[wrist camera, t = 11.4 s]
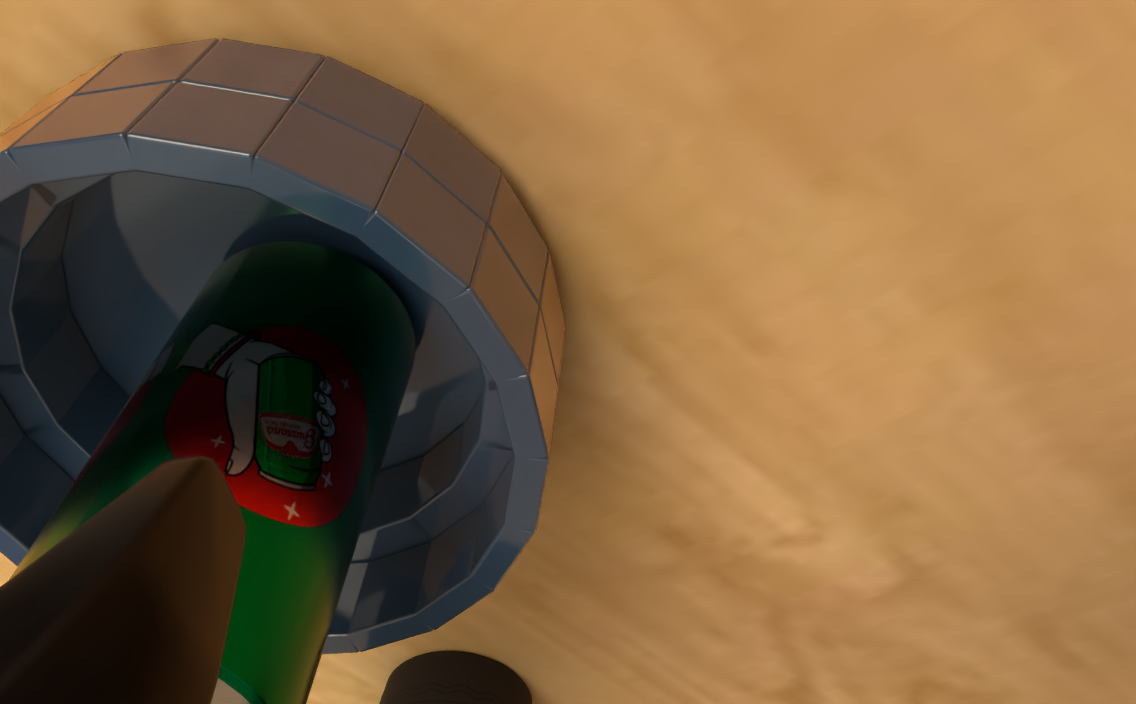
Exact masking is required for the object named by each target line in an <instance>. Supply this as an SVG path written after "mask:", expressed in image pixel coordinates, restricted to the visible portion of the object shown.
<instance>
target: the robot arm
mask: <svg viewBox="0 0 1136 704" xmlns="http://www.w3.org/2000/svg"><path fill="white" fill-rule="evenodd" d="M245 541H246V525H245V520H244V517H243V514H242V512H241V510H240V508H239V506H238V504H237V502H236V500H235V498H234V496H233V494H232V491H231V489H230V487H229V485H228V483H227V481H226V479H225V477H224V475H223V473H222V471H221V469H220V467H219V466H218V464H217V463H216V462H215V461H214V460H213V459H212V458H210V457H207V456H193V457H181V458H173V459H169V460H166V461H164V462H163V463H161V464H160V465H159V466H157V467H156V468H155V469H154V470H152V471H151V472H150V473H148V474H147V475H146V476H144V477H143V478H142V479H141V480H139V481H138V482H137V483H135V484H134V485H133V486H131V487H130V488H129V489H127V490H126V491H125V492H124V493H122V494H121V495H120V496H118V497H117V498H116V499H114V500H113V501H112V502H111V503H109V504H108V505H107V506H105V507H104V508H103V509H101V510H100V511H99V512H98V513H96V514H95V515H94V516H92V517H91V518H90V519H88V520H87V521H86V522H84V523H83V524H82V525H81V526H79V527H78V528H77V529H75V530H74V531H73V532H71V533H70V534H69V535H68V536H66V537H65V538H64V539H62V540H61V541H60V542H58V543H57V544H56V545H55V546H53V547H52V548H51V549H49V550H48V551H47V552H45V553H44V554H43V555H41V556H40V557H39V558H38V559H36V560H35V561H34V562H32V563H31V564H30V565H28V566H27V567H26V568H25V569H23V570H22V571H21V572H19V573H18V574H17V575H15V576H14V577H13V578H11V579H10V580H9V581H8V582H6V583H5V584H4V585H2V586H1V587H0V704H211V701H212V698H213V694H214V691H215V687H216V684H217V680H218V675H219V671H220V667H221V663H222V658H223V653H224V648H225V643H226V638H227V633H228V628H229V623H230V618H231V613H232V607H233V602H234V597H235V592H236V587H237V582H238V577H239V572H240V567H241V562H242V557H243V552H244V547H245Z"/></svg>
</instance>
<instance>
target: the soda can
mask: <svg viewBox="0 0 1136 704" xmlns="http://www.w3.org/2000/svg"><path fill="white" fill-rule="evenodd" d="M415 352H416V348H415V335H414V331H413V327H412V323H411V321H410V318H409V316H408V314H407V311H406V309H405V307H404V306H403V304H402V303H401V301H400V300H399V298H398V297H397V295H396V294H395V293H394V292H393V290H392V289H391V288H390V287H389V286H388V285H387V284H386V282H385V281H383V280H382V279H381V278H380V277H379V276H378V275H377V274H375V273H374V272H373V271H372V270H370V269H369V268H367V267H366V266H364V265H363V264H361V263H360V262H358V261H357V260H355V259H353V258H351V257H349V256H347V255H345V254H343V253H341V252H338V251H335V250H332V249H329V248H327V247H324V246H319V245H315V244H310V243H305V242H292V241H281V242H268V243H264V244H259V245H255V246H252V247H249V248H247V249H244V250H242V251H239V252H237V253H236V254H234V255H232V256H231V257H229V258H228V259H226V260H225V261H224V262H223V263H222V264H221V265H220V266H218V267H217V268H216V269H215V270H214V272H213V273H212V275H211V276H210V278H209V279H208V281H207V282H206V284H205V285H204V287H203V288H202V290H201V291H200V293H199V294H198V296H197V297H196V299H195V300H194V302H193V303H192V305H191V306H190V308H189V309H188V311H187V312H186V314H185V315H184V317H183V318H182V320H181V321H180V323H179V324H178V326H177V327H176V329H175V330H174V332H173V333H172V335H171V336H170V338H169V339H168V341H167V342H166V344H165V345H164V347H163V348H162V350H161V351H160V353H159V354H158V356H157V357H156V359H155V361H154V362H153V364H152V365H151V367H150V368H149V370H148V371H147V373H146V374H145V376H144V377H143V379H142V380H141V382H140V383H139V385H138V386H137V388H136V389H135V391H134V392H133V394H132V395H131V397H130V398H129V400H128V401H127V403H126V404H125V406H124V407H123V409H122V410H121V412H120V413H119V415H118V416H117V418H116V419H115V421H114V422H113V424H112V425H111V427H110V428H109V430H108V431H107V433H106V434H105V436H104V438H103V439H102V441H101V442H100V444H99V445H98V447H97V448H96V450H95V451H94V453H93V454H92V456H91V457H90V459H89V460H88V462H87V463H86V465H85V466H84V468H83V469H82V471H81V472H80V474H79V475H78V477H77V478H76V480H75V481H74V483H73V484H72V486H71V487H70V489H69V490H68V492H67V493H66V495H65V496H64V498H63V499H62V501H61V502H60V504H59V505H58V507H57V508H56V510H55V511H54V513H53V515H52V516H51V518H50V519H49V521H48V522H47V524H46V525H45V527H44V528H43V530H42V531H41V533H40V534H39V536H38V537H37V539H36V540H35V542H34V543H33V545H32V546H31V548H30V549H29V551H28V552H27V554H26V555H25V557H24V558H23V560H22V561H21V563H20V564H19V566H18V567H17V569H16V570H15V572H14V573H13V575H12V576H11V578H13V577H14V576H15V575H17V574H18V573H19V572H21V571H22V570H23V569H25V568H26V567H27V566H28V565H30V564H31V563H32V562H34V561H35V560H36V559H38V558H39V557H40V556H41V555H43V554H44V553H45V552H47V551H48V550H49V549H51V548H52V547H53V546H55V545H56V544H57V543H58V542H60V541H61V540H62V539H64V538H65V537H66V536H68V535H69V534H70V533H71V532H73V531H74V530H75V529H77V528H78V527H79V526H81V525H82V524H83V523H84V522H86V521H87V520H88V519H90V518H91V517H92V516H94V515H95V514H96V513H98V512H99V511H100V510H101V509H103V508H104V507H105V506H107V505H108V504H109V503H111V502H112V501H113V500H114V499H116V498H117V497H118V496H120V495H121V494H122V493H124V492H125V491H126V490H127V489H129V488H130V487H131V486H133V485H134V484H135V483H137V482H138V481H139V480H141V479H142V478H143V477H144V476H146V475H147V474H148V473H150V472H151V471H152V470H154V469H155V468H156V467H157V466H159V465H160V464H161V463H163V462H164V461H166V460H169V459H173V458H181V457H193V456H207V457H210V458H212V459H213V460H214V461H215V462H216V463H217V464H218V466H219V467H220V469H221V471H222V473H223V475H224V477H225V479H226V481H227V483H228V485H229V487H230V489H231V491H232V494H233V496H234V498H235V500H236V502H237V504H238V506H239V508H240V510H241V512H242V514H243V517H244V520H245V525H246V541H245V547H244V552H243V557H242V562H241V567H240V572H239V577H238V582H237V587H236V592H235V597H234V602H233V607H232V613H231V618H230V623H229V628H228V633H227V638H226V643H225V648H224V653H223V658H222V663H221V667H220V671H219V675H218V680H217V684H216V687H215V691H214V694H213V698H212V701H211V704H306V702H307V699H308V696H309V692H310V689H311V686H312V683H313V680H314V677H315V674H316V670H317V667H318V664H319V661H320V658H321V655H322V652H323V648H324V645H325V642H326V639H327V636H328V633H329V630H330V626H331V623H332V620H333V617H334V614H335V611H336V608H337V604H338V601H339V598H340V595H341V592H342V589H343V585H344V582H345V579H346V576H347V573H348V570H349V567H350V563H351V560H352V557H353V554H354V551H355V548H356V545H357V541H358V538H359V535H360V532H361V529H362V526H363V523H364V519H365V516H366V513H367V510H368V507H369V504H370V501H371V497H372V494H373V491H374V488H375V485H376V482H377V479H378V475H379V472H380V469H381V466H382V463H383V460H384V457H385V453H386V450H387V447H388V444H389V441H390V438H391V435H392V431H393V428H394V425H395V422H396V419H397V416H398V412H399V409H400V406H401V403H402V400H403V397H404V394H405V390H406V387H407V384H408V381H409V378H410V375H411V372H412V368H413V365H414V360H415ZM11 578H10V579H11ZM10 579H9V580H10Z"/></svg>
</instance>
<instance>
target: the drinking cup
mask: <svg viewBox="0 0 1136 704" xmlns="http://www.w3.org/2000/svg"><path fill="white" fill-rule="evenodd" d="M380 704H532V698H531V694H530V692H529V690H528V688H527V686H526V685H525V683H524V682H523V681H522V680H521V678H519V677H518V676H517V675H516V674H515V673H514V672H513V671H511V670H510V669H508V668H507V667H505V666H503V665H501V664H499V663H497V662H495V661H493V660H490V659H488V658H485V657H481V656H478V655H474V654H469V653H462V652H435V653H428V654H424V655H420V656H417V657H414V658H412V659H409V660H408V661H406V662H404V663H403V664H401V665H400V666H399V667H397V668H396V669H395V670H394V672H393V673H392V674H391V676H390V677H389V679H388V682H387V684H386V687H385V690H384V693H383V696H382V698H381V701H380Z"/></svg>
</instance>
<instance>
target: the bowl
mask: <svg viewBox="0 0 1136 704" xmlns="http://www.w3.org/2000/svg"><path fill="white" fill-rule="evenodd" d="M500 172H501V171H500V169H499V168H498V167H497V166H496V165H494V164H493V163H492V162H491V161H490V160H489V159H488V158H487V157H485V156H484V155H483V154H482V153H481V152H480V151H479V150H478V149H477V148H475V147H474V146H473V145H472V144H471V143H470V142H469V141H468V140H466V139H465V138H464V137H463V136H462V135H461V134H460V133H459V132H457V131H456V130H455V129H454V128H453V127H452V126H451V125H450V124H448V123H447V122H446V121H445V120H444V119H443V118H442V117H441V116H440V115H438V114H437V113H436V112H435V111H434V110H433V109H432V108H431V107H429V106H428V105H427V104H423V102H422V101H420V100H418V99H416V98H414V97H412V96H410V95H408V94H406V93H404V92H402V91H400V90H397V89H395V88H393V87H391V86H389V85H387V84H385V83H383V82H381V81H379V80H377V79H375V78H373V77H370V76H368V75H366V74H364V73H362V72H360V71H358V70H356V69H354V68H352V67H350V66H348V65H346V64H344V63H341V62H339V61H337V60H335V59H333V58H331V57H326V58H325V57H324V56H323V55H319V54H313V53H307V52H301V51H295V50H289V49H283V48H277V47H271V46H265V45H259V44H253V43H247V42H241V41H235V40H229V39H220V40H219V39H216V38H214V39H207V40H201V41H194V42H188V43H181V44H175V45H168V46H162V47H155V48H149V49H142V50H136V51H130V52H125V53H120V54H118V55H116V56H114V57H113V58H111V59H109V60H108V61H106V62H104V63H102V64H101V65H99V66H97V67H96V68H94V69H92V70H91V71H89V72H87V73H85V74H84V75H82V76H80V77H79V78H77V79H75V80H73V81H72V82H70V83H68V84H67V85H65V86H63V87H62V88H60V89H58V90H56V91H55V92H53V93H51V94H50V95H48V96H47V97H45V98H44V99H43V100H42V101H41V102H39V103H38V104H37V105H36V106H34V107H33V108H32V109H31V110H29V111H28V112H27V113H26V114H24V115H23V116H22V117H21V118H20V119H18V120H17V121H16V122H15V123H13V124H12V125H11V126H10V127H8V128H7V129H6V130H5V131H3V132H2V133H1V134H0V552H1V553H2V554H3V555H5V556H6V557H7V558H8V559H9V560H10V561H12V562H13V563H14V564H15V565H16V566H19V564H20V563H21V561H22V560H23V558H24V557H25V555H26V554H27V552H28V551H29V549H30V548H31V546H32V545H33V543H34V542H35V540H36V539H37V537H38V536H39V534H40V533H41V531H42V530H43V528H44V527H45V525H46V524H47V522H48V521H49V519H50V518H51V516H52V515H53V513H54V511H55V510H56V508H57V507H58V505H59V504H60V502H61V501H62V499H63V498H64V496H65V495H66V493H67V492H68V490H69V489H70V487H71V486H72V484H73V483H74V481H75V480H76V478H77V477H78V475H79V474H80V472H81V471H82V469H83V468H84V466H85V465H86V463H87V462H88V460H89V459H90V457H91V456H92V454H93V453H94V451H95V450H96V448H97V447H98V445H99V444H100V442H101V441H102V439H103V438H104V436H105V434H106V433H107V431H108V430H109V428H110V427H111V425H112V424H113V422H114V421H115V419H116V418H117V416H118V415H119V413H120V412H121V410H122V409H123V407H124V406H125V404H126V403H127V401H128V400H129V398H130V397H131V395H132V394H133V392H134V391H135V389H136V388H137V386H138V385H139V383H140V382H141V380H142V379H143V377H144V376H145V374H146V373H147V371H148V370H149V368H150V367H151V365H152V364H153V362H154V361H155V359H156V357H157V356H158V354H159V353H160V351H161V350H162V348H163V347H164V345H165V344H166V342H167V341H168V339H169V338H170V336H171V335H172V333H173V332H174V330H175V329H176V327H177V326H178V324H179V323H180V321H181V320H182V318H183V317H184V315H185V314H186V312H187V311H188V309H189V308H190V306H191V305H192V303H193V302H194V300H195V299H196V297H197V296H198V294H199V293H200V291H201V290H202V288H203V287H204V285H205V284H206V282H207V281H208V279H209V278H210V276H211V275H212V273H213V272H214V270H215V269H216V268H217V267H218V266H220V265H221V264H222V263H223V262H224V261H225V260H226V259H228V258H229V257H231V256H232V255H234V254H236V253H237V252H239V251H242V250H244V249H247V248H249V247H252V246H255V245H259V244H264V243H268V242H281V241H292V242H305V243H310V244H315V245H319V246H324V247H327V248H329V249H332V250H335V251H338V252H341V253H343V254H345V255H347V256H349V257H351V258H353V259H355V260H357V261H358V262H360V263H361V264H363V265H364V266H366V267H367V268H369V269H370V270H372V271H373V272H374V273H375V274H377V275H378V276H379V277H380V278H381V279H382V280H383V281H385V282H386V284H387V285H388V286H389V287H390V288H391V289H392V290H393V292H394V293H395V294H396V295H397V297H398V298H399V300H400V301H401V303H402V304H403V306H404V307H405V309H406V311H407V314H408V316H409V318H410V321H411V323H412V327H413V331H414V335H415V348H416V352H415V360H414V365H413V368H412V372H411V375H410V378H409V381H408V384H407V387H406V390H405V394H404V397H403V400H402V403H401V406H400V409H399V412H398V416H397V419H396V422H395V425H394V428H393V431H392V435H391V438H390V441H389V444H388V447H387V450H386V453H385V457H384V460H383V463H382V466H381V469H380V472H379V475H378V479H377V482H376V485H375V488H374V491H373V494H372V497H371V501H370V504H369V507H368V510H367V513H366V516H365V519H364V523H363V526H362V529H361V532H360V535H359V538H358V541H357V545H356V548H355V551H354V554H353V557H352V560H351V563H350V567H349V570H348V573H347V576H346V579H345V582H344V585H343V589H342V592H341V595H340V598H339V601H338V604H337V608H336V611H335V614H334V617H333V620H332V623H331V626H330V630H329V633H328V636H327V639H326V642H325V645H324V648H323V652H322V654H337V653H357V652H359V651H360V652H362V651H365V650H369V649H372V648H376V647H379V646H382V645H386V644H389V643H392V642H396V641H399V640H403V639H406V638H409V637H413V636H416V635H419V634H423V633H426V632H430V631H432V630H436V629H437V628H439V627H440V626H442V625H443V624H445V623H446V622H448V621H449V620H451V619H452V618H454V617H455V616H457V615H458V614H460V613H461V612H463V611H464V610H466V609H467V608H469V607H470V606H472V605H473V604H475V603H476V602H478V601H480V600H481V599H483V598H484V597H486V596H487V595H489V594H490V593H492V592H493V591H494V590H495V588H496V587H497V586H498V584H499V583H500V582H501V580H502V579H503V577H504V576H505V574H506V573H507V572H508V570H509V569H510V567H511V566H512V564H513V563H514V562H515V560H516V559H517V557H518V556H519V554H520V553H521V552H522V550H523V549H524V547H525V546H526V544H527V543H528V542H529V540H530V539H531V537H532V536H533V534H534V533H535V530H536V529H537V525H538V519H539V514H540V508H541V503H542V497H543V492H544V486H545V481H546V475H547V470H548V464H549V459H550V451H551V443H552V434H553V426H554V418H555V410H556V402H557V394H558V386H559V378H560V370H561V362H562V353H563V345H564V337H565V323H564V318H563V313H562V308H561V304H560V299H559V294H558V289H557V284H556V280H555V275H554V270H553V265H552V260H551V256H550V253H549V251H548V247H547V246H546V244H545V242H544V241H543V239H542V238H541V236H540V234H539V233H538V231H537V229H536V228H535V226H534V224H533V223H532V221H531V219H530V218H529V216H528V214H527V213H526V211H525V209H524V208H523V206H522V204H521V203H520V201H519V199H518V198H517V196H516V195H515V193H514V191H513V190H512V188H511V186H510V185H509V183H508V181H507V180H506V178H505V176H504V175H503V174H502V173H500Z"/></svg>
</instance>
